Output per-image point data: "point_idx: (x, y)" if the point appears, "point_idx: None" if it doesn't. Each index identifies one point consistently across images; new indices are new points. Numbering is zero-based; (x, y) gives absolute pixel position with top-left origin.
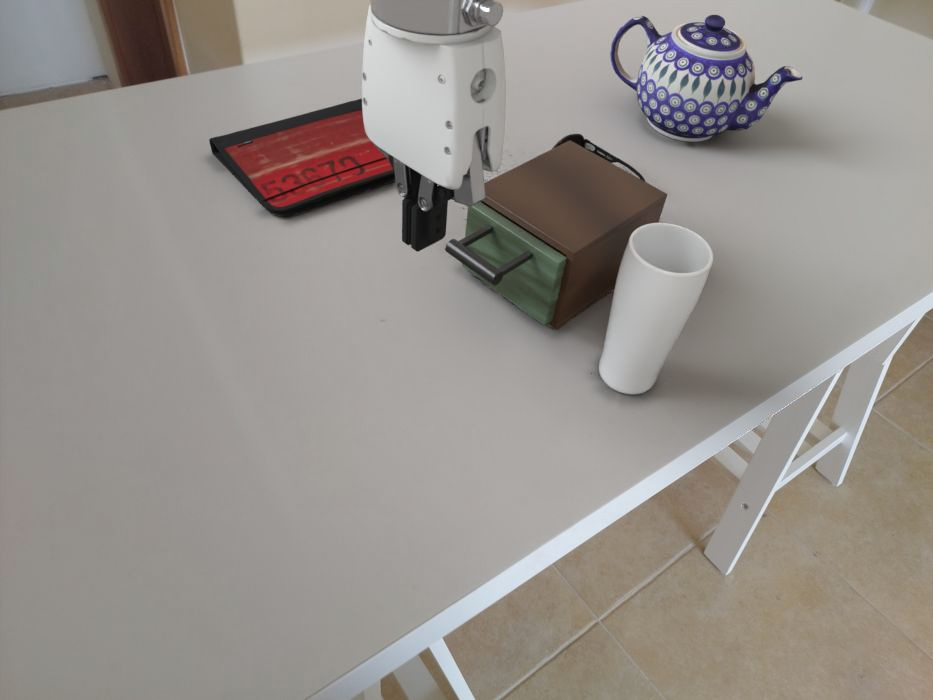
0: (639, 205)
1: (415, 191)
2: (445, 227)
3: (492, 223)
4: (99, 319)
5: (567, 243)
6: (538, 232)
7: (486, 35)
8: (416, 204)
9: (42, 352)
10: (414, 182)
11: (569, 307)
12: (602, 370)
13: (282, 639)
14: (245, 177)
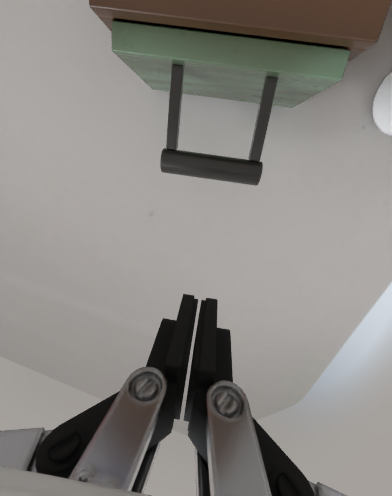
0: None
1: (169, 432)
2: (230, 339)
3: (178, 62)
4: (28, 332)
5: (352, 21)
6: (278, 33)
7: None
8: (189, 423)
9: (39, 361)
10: (152, 438)
11: None
12: (386, 129)
13: (271, 397)
14: None
